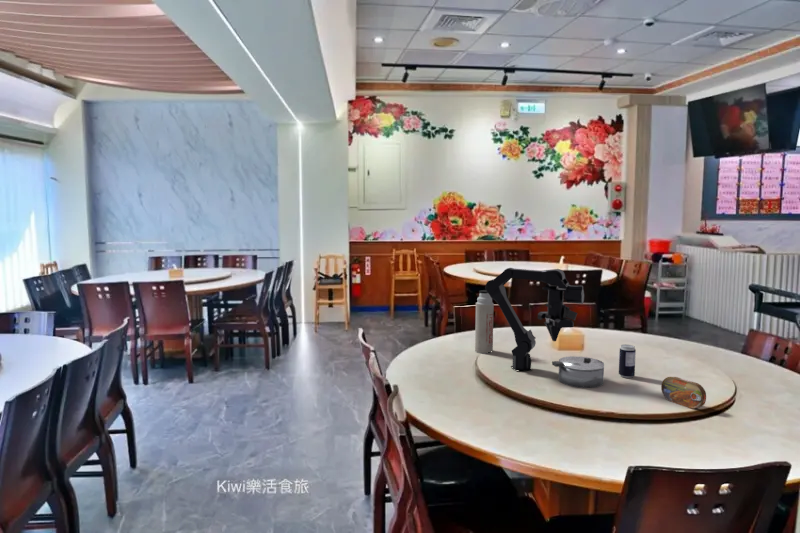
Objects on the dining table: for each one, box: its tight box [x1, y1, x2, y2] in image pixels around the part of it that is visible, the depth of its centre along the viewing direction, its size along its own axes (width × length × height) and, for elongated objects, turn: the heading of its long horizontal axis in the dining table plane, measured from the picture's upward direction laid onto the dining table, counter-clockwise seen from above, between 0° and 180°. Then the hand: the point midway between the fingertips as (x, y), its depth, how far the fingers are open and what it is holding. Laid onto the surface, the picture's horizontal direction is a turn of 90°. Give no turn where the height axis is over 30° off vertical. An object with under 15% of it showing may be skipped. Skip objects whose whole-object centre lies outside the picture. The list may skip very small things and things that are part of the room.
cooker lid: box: [551, 355, 605, 371], centre depth 202 cm, size 19×16×2 cm
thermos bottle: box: [474, 289, 494, 354], centre depth 246 cm, size 8×8×28 cm
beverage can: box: [618, 344, 637, 379], centre depth 209 cm, size 6×6×12 cm
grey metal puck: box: [558, 366, 605, 389], centre depth 203 cm, size 16×16×6 cm
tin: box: [660, 376, 707, 410], centre depth 179 cm, size 15×3×8 cm, turn 25°
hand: (554, 341), depth 212 cm, fingers closed
